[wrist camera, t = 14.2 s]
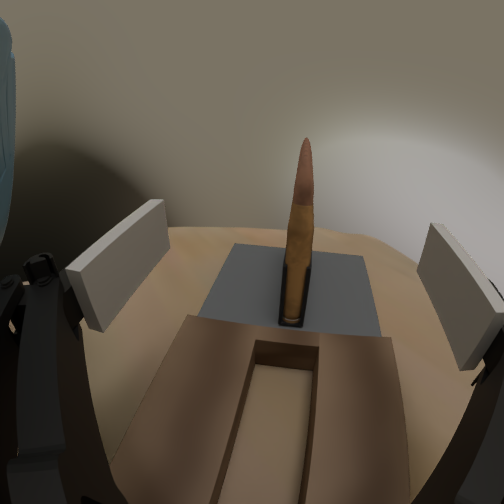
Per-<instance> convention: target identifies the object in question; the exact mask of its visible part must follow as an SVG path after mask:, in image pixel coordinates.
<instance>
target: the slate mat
mask: <svg viewBox="0 0 504 504" xmlns="http://www.w3.org/2000/svg"><path fill="white" fill-rule="evenodd" d="M285 250H286V248H277V247H267V246H257V245H247V244H236V243H235V244H234V246H233V248H232V250H231V251H230V253H229V255H228V257H227V259H226V261H225V263H224V265H223V267H222V269H221V271H220V273H219V275H218V277H217V278H216V280H215V282H214V284H213V286H212V288H211V290H210V292H209V294H208V296H207V298H206V300H205V302H204V304H203V306H202V308H201V310H200V312H199V314H198V317H204V318H210V319H216V320H223V321H229V322H236V323H243V324H250V325H257V326H265V327H273V328H281V329H290V330H299V331H309V332H319V333H330V334H343V335H357V336H374V337H381V331H380V326H379V321H378V317H377V312H376V307H375V303H374V299H373V294H372V290H371V286H370V282H369V278H368V274H367V270H366V266H365V262H364V259H363V256H357V255H347V254H337V253H328V252H318V251H312V269H311V277H310V284H309V291H308V298H307V304H306V311H305V317H304V323H303V327H296V326H287V325H279V324H278V318H279V306H280V294H281V282H282V269H283V261H284V256H285Z"/></svg>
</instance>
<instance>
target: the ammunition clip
mask: <svg viewBox="0 0 504 504" xmlns="http://www.w3.org/2000/svg"><path fill="white" fill-rule="evenodd" d="M313 195H314V182H313V166H312V152H311V146H310V142H309V139H308V138H305V140H304V142H303V144H302V147H301V151H300V156H299V163H298V168H297V174H296V180H295V186H294V195H293V202H292V207H291V212H290V219H289V223H288V231H287V244H286V250H285V256H284V261H283V269H282V282H281V294H280V306H279V318H278V324H279V325H287V326H296V327H303V323H304V317H305V311H306V304H307V298H308V291H309V284H310V277H311V269H312V243H313V233H314V221H313V220H314V214H313Z"/></svg>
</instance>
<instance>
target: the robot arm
mask: <svg viewBox="0 0 504 504" xmlns="http://www.w3.org/2000/svg"><path fill="white" fill-rule="evenodd" d="M11 48H12V38H11V33H10V30H9V28H8V25H7V24H6V23H5V22H4V20H3V19H2V18H0V244H1V241H2V239H3V236H4V232H5V228H6V225H7V220H8V215H9V209H10V202H11V194H12V184H13V169H14V151H15V118H16V85H15V84H16V81H15V59H14V54H13V53H12V52H11ZM169 249H170V243H169V236H168V228H167V221H166V213H165V204H164V200H160V199H159V200H158V199H151V200H149V201H148V202H147V203H145V204H144V205H143V206H141V207H140V208H139V209H137V210H136V211H134V212H133V213H132V214H130V215H129V216H128V217H127V218H125V219H124V220H123V221H121V222H120V223H119V224H118V225H116V226H115V227H114V228H113V229H111V230H110V231H109V232H107V233H106V234H105V235H104V236H103V237H101V238H100V239H99V240H98V241H96V243H94V244H93V245H91V246H89V247H88V248H87V249H86V250H84V251H83V253H82V254H80V255H79V256H77V258H76V259H74V260H73V261H72V262H71V263H70V264H68V265H67V266H66V267H65V268H64V269H63V270H62V271H61V272H59V273H58V270H57V268H56V265H55V262H54V259H53V256H52V254H51V253H40V254H37V255H35V256H33V257H31V258H30V259H28V260H27V261H26V262H25V263H24V265H23V268H24V271H25V274H26V276H27V278H28V281H29V283H30V285H23V283H22V280H21V278H20V276H19V275H11V276H10V275H9V276H7V277H5V278H4V279H3V280H2V281H0V504H128V502H127V500H126V498H125V497H124V495H123V494H122V493H121V491H120V490H119V489H118V487H117V486H116V484H115V481H114V479H113V476H112V473H111V470H110V467H109V464H108V461H107V458H106V454H105V451H104V448H103V444H102V441H101V437H100V433H99V429H98V425H97V421H96V417H95V412H94V407H93V403H92V398H91V392H90V387H89V381H88V375H87V368H86V361H85V354H84V345H83V335H82V329H81V326H80V324H79V322H80V321H81V320H82V318H83V317H84V318H85V321H86V323H87V325H88V327H89V329H92V330H96V331H99V332H102V333H104V332H105V330H106V329H107V327H108V326H109V325H110V323H111V322H112V321H113V319H114V318H115V317H116V315H117V314H118V313H119V311H120V310H121V309H122V308H123V306H124V305H125V304H126V302H127V301H128V300H129V298H130V297H131V296H132V295H133V293H134V292H135V291H136V290H137V288H138V287H139V286H140V284H141V283H142V282H143V281H144V279H145V278H146V277H147V276H148V274H149V273H150V272H151V271H152V270H153V268H154V267H155V266H156V265H157V263H158V262H159V261H160V260H161V259H162V257H163V256H164V255H165V254H166V253H167V251H168V250H169ZM417 273H418V275H419V277H420V279H421V281H422V283H423V285H424V287H425V289H426V291H427V293H428V295H429V297H430V299H431V301H432V304H433V306H434V308H435V310H436V312H437V315H438V317H439V319H440V322H441V324H442V326H443V329H444V331H445V333H446V336H447V338H448V341H449V343H450V346H451V349H452V351H453V354H454V356H455V359H456V362H457V365H458V368H459V370H460V371H466V370H474V369H475V368H476V367H477V365H478V364H479V362H480V361H481V360H482V358H483V360H484V363H485V367H484V368H483V369H482V371H481V372H480V373H479V375H478V376H477V377H476V379H475V380H474V381H473V382H472V384H471V386H473V385H474V384H475V383H477V384H476V386H475V389H474V391H473V394H472V396H471V399H470V401H469V404H468V406H467V408H466V411H465V413H464V415H463V417H462V419H461V422H460V424H459V426H458V428H457V430H456V432H455V434H454V436H453V438H452V440H451V442H450V443H449V445H448V447H447V449H446V451H445V453H444V454H443V456H442V458H441V460H440V461H439V463H438V465H437V466H436V468H435V469H434V471H433V473H432V474H431V476H430V477H429V479H428V480H427V482H426V483H425V485H424V486H423V488H422V489H421V491H420V492H419V494H418V495H417V496H416V498H415V499H414V500H413V502H412V503H411V504H500V503H501V504H504V299H503V297H502V295H501V294H500V292H498V290H497V288H496V287H495V285H494V284H493V283H492V282H491V281H490V280H489V279H488V278H487V277H486V276H485V275H484V273H483V272H482V271H481V269H480V268H479V267H478V265H477V264H476V263H475V261H474V260H473V259H472V258H471V257H470V255H469V254H468V253H467V252H466V251H465V249H464V248H463V247H462V246H461V244H460V243H459V242H458V241H457V240H456V239H455V237H454V236H453V235H452V234H451V233H450V232H449V231H448V230H447V228H446V227H445V226H444V225H443V224H437V223H430V227H429V231H428V235H427V238H426V242H425V245H424V249H423V252H422V256H421V259H420V262H419V265H418V268H417ZM10 320H11V322H12V324H13V325H14V327H15V329H16V330H15V332H14V334H13V333H12V331H11V330H10V328H9V321H10ZM18 450H19V451H18ZM17 451H18V456H17Z"/></svg>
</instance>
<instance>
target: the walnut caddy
mask: <svg viewBox="0 0 504 504" xmlns="http://www.w3.org/2000/svg"><path fill="white" fill-rule="evenodd" d="M255 363H256V364H263V365H270V366H278V367H286V368H295V369H305V370H313V380H312V393H311V405H310V416H309V426H308V436H307V445H306V453H305V461H304V469H303V476H302V483H301V489H300V496H299V502H298V504H410V477H409V458H408V445H407V434H406V424H405V416H404V408H403V401H402V394H401V388H400V382H399V376H398V370H397V365H396V360H395V355H394V350H393V345H392V340H391V337H374V336H357V335H343V334H330V333H319V332H309V331H299V330H290V329H281V328H273V327H265V326H257V325H250V324H243V323H236V322H229V321H223V320H216V319H210V318H204V317H198V316H193V315H187V317H186V318H185V320H184V322H183V324H182V326H181V328H180V329H179V331H178V333H177V335H176V337H175V339H174V341H173V342H172V344H171V346H170V348H169V350H168V352H167V354H166V356H165V357H164V359H163V361H162V363H161V365H160V367H159V369H158V371H157V373H156V375H155V376H154V378H153V380H152V382H151V384H150V386H149V388H148V390H147V392H146V394H145V396H144V398H143V400H142V402H141V404H140V406H139V407H138V409H137V411H136V413H135V415H134V417H133V419H132V421H131V423H130V425H129V427H128V429H127V431H126V433H125V435H124V437H123V439H122V441H121V443H120V445H119V447H118V449H117V452H116V454H115V456H114V458H113V460H112V462H111V464H110V466H109V467H110V470H111V473H112V476H113V479H114V481H115V484H116V486H117V487H118V489H119V490H120V491H121V493H122V494H123V495H124V497H125V498H126V500H127V502H128V504H217V502H218V499H219V495H220V492H221V489H222V485H223V482H224V478H225V475H226V471H227V468H228V464H229V461H230V457H231V453H232V450H233V446H234V442H235V439H236V435H237V431H238V428H239V424H240V420H241V416H242V413H243V409H244V405H245V401H246V397H247V393H248V389H249V385H250V382H251V378H252V374H253V370H254V366H255Z"/></svg>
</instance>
